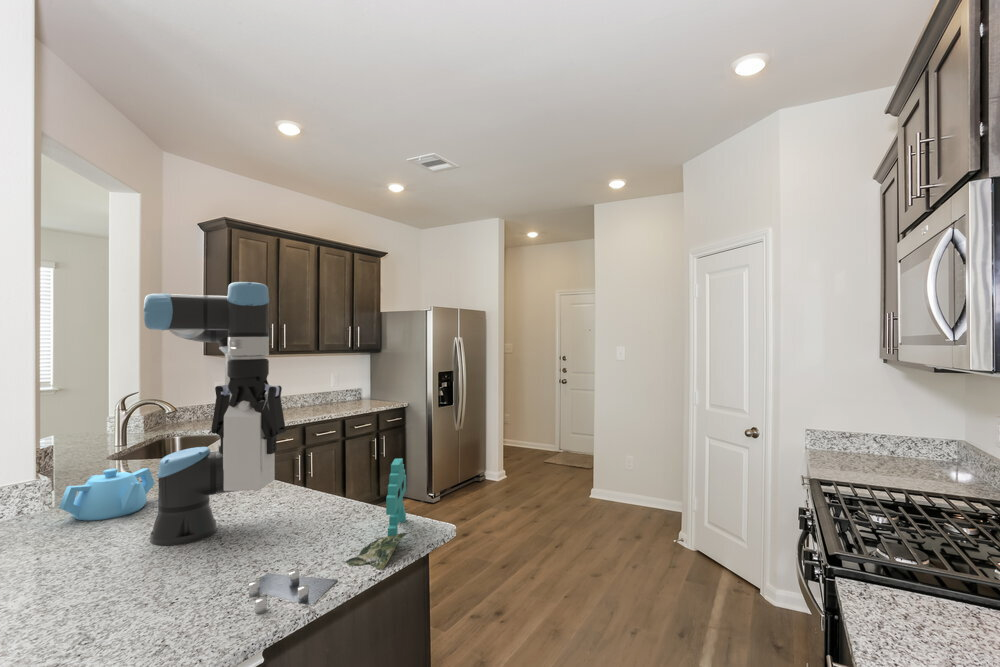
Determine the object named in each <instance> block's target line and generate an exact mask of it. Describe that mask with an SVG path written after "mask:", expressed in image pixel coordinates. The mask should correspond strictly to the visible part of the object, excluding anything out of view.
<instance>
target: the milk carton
mask: <svg viewBox="0 0 1000 667" xmlns="http://www.w3.org/2000/svg"><path fill="white" fill-rule="evenodd" d="M264 396H265V398H266V400H265V404H266V402H268V395H266V393H265V395H264ZM262 401H264V400H261V401H259V402H262ZM265 404H264V406H265ZM267 406H268V409H269V405H268V404H267ZM263 408H264V407H263ZM263 437H265V435H264V433H263V430H262V428H261V413H259V412H255V409H254V408H252V406H251V404H250V402H248V401H241V402H240V403H239V404H238V402H237V405H236V406H235V407H232V406H229V407H228V409H227V411H226V413H225V415H224V491H234V492H241V491H243V492H244V491H245V492H246V491H248V492H249V491H260V490H262V489H264V488H265V487H267V486H268V485H270V484H271V483H272V482H274V481H275V479H276V478H275V477H276V476H275V474H276V473H275V472H276V471H275V466H276V465H275V456H276V455H275V454H276V453H273V469H270V470H268V471H265V472H261V439H263Z"/></svg>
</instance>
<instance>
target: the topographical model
mask: <svg viewBox="0 0 1000 667" xmlns="http://www.w3.org/2000/svg"><path fill="white" fill-rule="evenodd" d="M408 534H409V532H401V533H398V534H397V535H393V536H388V535H387V536H383V537H379V538H377V539H376V540H374V541H372V542H370V543H369V544H367V545H365V546H364V547H363V548H362V549H360V552H359V553H358V555H356V556H355V557H351V558H349V559H348V560H346V562H345V563H346V565H348V566H350V567H361V566H362V567H363V566H367V565H368V566H371V567H372V568H373V569H375V570H377V571H384V569H385V567H386V566H387V564H388V562H389V560H390V558H391V557H392V555H393V553H394V551H395V550H396V547H397V546H398V543H400V542H401V540H402V539H403V538H404V537H406V535H408Z"/></svg>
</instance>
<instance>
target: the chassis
mask: <svg viewBox="0 0 1000 667" xmlns="http://www.w3.org/2000/svg"><path fill="white" fill-rule="evenodd" d="M337 582H339V580H338V579H337V578H326V577H313V576H304V575H303V576H302V575H300V570H299V569H292V570H289V572H288V574H278V573H266V574H264V575H263V576H262V577H260V578H259V579H255V580H251V581H250V582H249V583H248V587H247V590H248V597H249V598H254V597H258V596H259V595H260V593H261V594H264V595H268V596H271V597H276V598H278V599H281V600H282V599H283V600H286V601H289V602H290V601H291V602H295V603H298V604H301V605H306V606H309V607H312V606H314V605H315V603H317V601H319V600H320V599H321V598H322V597H323V596H324V595H325V594H326V593H327V592H328V591H329V590H330V589H331V588H332V587H333V586H334V585H335V584H336V583H337ZM267 600H268V598H267V596H260V597H258V598H255V602H254V603H255V604H254V605H255V606H254V607H255V608H254V610H255V612H254V613H255V614H256V615H263V614H265V613H266V612H267V611H268V608H267V607H268V601H267Z"/></svg>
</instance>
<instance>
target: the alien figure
mask: <svg viewBox="0 0 1000 667" xmlns="http://www.w3.org/2000/svg"><path fill="white" fill-rule="evenodd" d="M388 476H389V478H388V480H389V483H388V485H387V495H386V500H385V509H386V510H385V511H386V512H385V515H386V516H387V515H388V516H389V517H388V518H389V519H388V520H389V521H388V523H389V524H388V527H387V536H393V535H397V534H399V533H398V532H399V531H398V527H399V526H398V525H399V523H406V519H407V512H406V507H405V503H404V500H403V498H404V495H405V493H406V492H407V475H406V469H405V464H404V459H403V458H394V459H393V461H392V463H391V464H390V474H389V475H388Z"/></svg>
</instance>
